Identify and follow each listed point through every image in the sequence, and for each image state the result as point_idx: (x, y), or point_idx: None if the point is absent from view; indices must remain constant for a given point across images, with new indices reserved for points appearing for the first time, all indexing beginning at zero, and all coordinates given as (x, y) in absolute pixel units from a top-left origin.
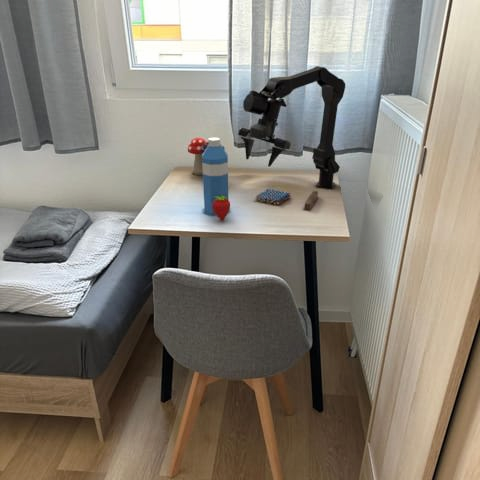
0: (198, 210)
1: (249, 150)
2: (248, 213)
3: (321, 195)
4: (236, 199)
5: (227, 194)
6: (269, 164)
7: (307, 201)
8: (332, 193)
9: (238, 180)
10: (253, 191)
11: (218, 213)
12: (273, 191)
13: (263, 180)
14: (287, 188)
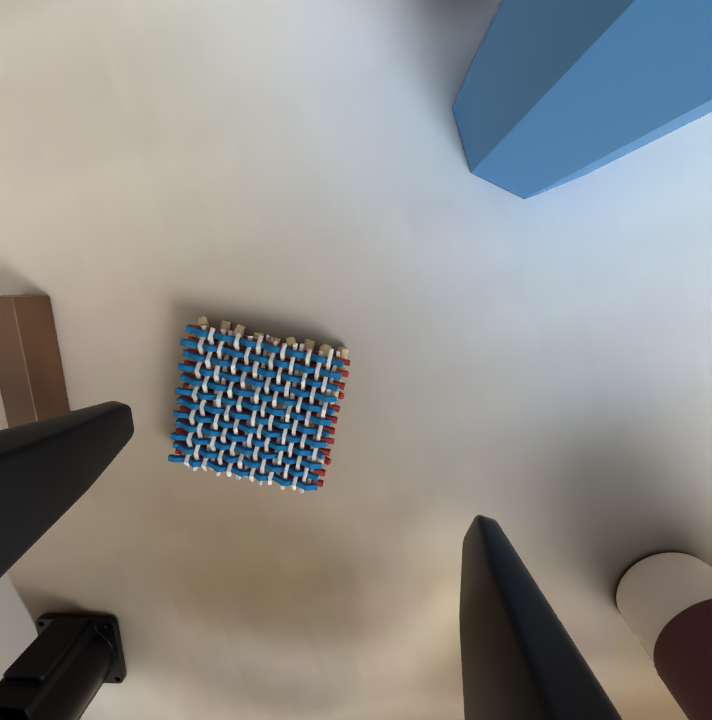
0: None
1: (498, 714)
2: (327, 132)
3: None
4: (461, 343)
5: (504, 1)
6: (85, 409)
7: (10, 333)
8: None
9: None
10: (401, 487)
11: None
12: (271, 464)
13: (394, 643)
14: (243, 569)
